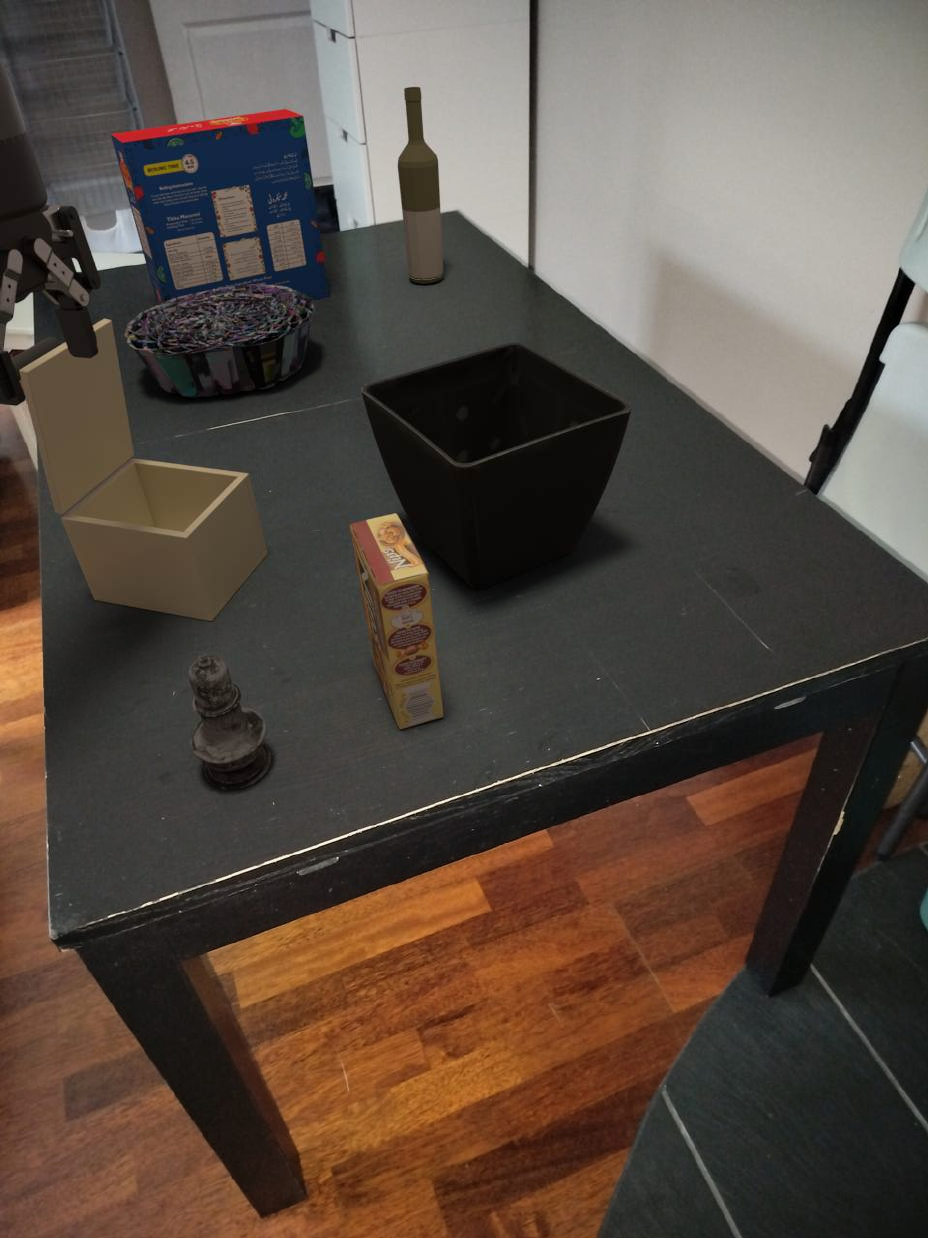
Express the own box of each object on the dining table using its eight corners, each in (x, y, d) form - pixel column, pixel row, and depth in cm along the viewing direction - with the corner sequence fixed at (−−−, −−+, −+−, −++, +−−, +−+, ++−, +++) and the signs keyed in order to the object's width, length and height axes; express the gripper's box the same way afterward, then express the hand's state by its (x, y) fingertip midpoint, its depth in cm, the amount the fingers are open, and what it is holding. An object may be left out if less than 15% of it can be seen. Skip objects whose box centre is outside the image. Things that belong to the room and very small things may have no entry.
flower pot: (624, 554, 88) (637, 402, 77) (469, 623, 81) (460, 466, 70) (518, 478, 101) (517, 338, 90) (376, 531, 94) (356, 386, 83)
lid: (111, 319, 78) (60, 306, 79) (26, 372, 70) (-30, 356, 71) (134, 454, 88) (88, 441, 89) (62, 515, 80) (11, 499, 81)
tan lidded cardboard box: (268, 553, 91) (249, 473, 85) (211, 621, 83) (186, 537, 77) (158, 536, 95) (132, 457, 89) (93, 599, 86) (60, 518, 80)
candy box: (446, 718, 72) (433, 571, 62) (397, 732, 71) (376, 585, 61) (415, 652, 78) (398, 510, 68) (370, 665, 77) (347, 521, 67)
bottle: (450, 274, 158) (439, 83, 138) (440, 287, 152) (427, 91, 133) (413, 272, 159) (397, 84, 140) (402, 285, 154) (384, 92, 135)
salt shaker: (185, 781, 68) (142, 670, 60) (228, 729, 72) (192, 619, 64) (248, 802, 66) (212, 690, 58) (288, 747, 70) (259, 636, 62)
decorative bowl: (346, 393, 125) (342, 325, 119) (151, 425, 115) (136, 352, 109) (293, 335, 143) (287, 273, 137) (121, 359, 133) (106, 293, 127)
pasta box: (312, 283, 157) (285, 108, 139) (329, 295, 152) (303, 115, 134) (160, 317, 147) (110, 133, 129) (173, 331, 142) (122, 142, 124)
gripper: (-10, 110, 60) (67, 339, 70) (-182, 153, 49) (-62, 415, 59) (81, 111, 58) (147, 346, 68) (-77, 155, 47) (28, 425, 57)
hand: (50, 378), depth 64 cm, fingers open, 8 cm apart
